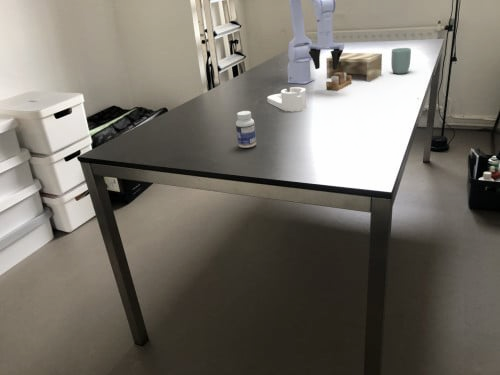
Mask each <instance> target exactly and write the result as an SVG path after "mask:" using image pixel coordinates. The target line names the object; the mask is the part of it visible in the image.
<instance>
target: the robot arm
mask: <svg viewBox="0 0 500 375" xmlns="http://www.w3.org/2000/svg"><path fill="white" fill-rule="evenodd" d="M309 2H310V3H311V4H312V5H313V11H314V17H315V20H316V27H317V28H316V30H317V31H316V32H317V34H316V35H317V42H316V43H313V42H312V39H311V38H309V37H308V36H306V29H305V21H304V14H303V7H302V0H288V5H289V13H290V18H291V19H290V20H291V27H292V34H293V38H292V39H291V40H290V41H289V42H288V45H287V46H288V50H287V55H288V59H289V62H288V64H287V78H288V80H287V83H288V84H301V85H302V84H303V85H305V84H309V83H311V82H312V81H315V78H312V77H311V61H312V62H313V66H314V68H315V70H318V69H320V67H321V65H320V63H321V62H320V60H321V50H324V51H325V50H328V51H329V50H330V55H331V56H332V61H333V70H335V69H337V66H338V62H339V59H340V56H341V54H342V53H344V50H345V43H338V42H334V25H333V24H334V23H333V22H334V18H333V17H334V15H333V13H334V12H335V10H336V0H309Z"/></svg>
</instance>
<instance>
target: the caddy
mask: <svg viewBox="0 0 500 375" xmlns="http://www.w3.org/2000/svg"><path fill="white" fill-rule="evenodd" d="M330 79H331V81H329V80H327V81H326V82H325V86H326V88H325V89H326V91H334V92H339V91H340V90H342V89H344V88H346V87H348V86H350V85H352V75H348V74H347V73H345V72H343V73H341V72H337V73H335V74H334V76H332V77H331V78H330Z"/></svg>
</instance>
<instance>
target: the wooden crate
mask: <svg viewBox="0 0 500 375" xmlns="http://www.w3.org/2000/svg"><path fill="white" fill-rule="evenodd" d="M382 59H383V53H365V52H363V53H361V52H360V53H359V52H356V53H355V52H353V53H352V52H342V54H341V56H340V59H339V62H338V66H337V69H335V70H333V61H332V55H331V56H328V57H326V59H325V60H326V61H325V62H326V79H331V77H332V76H334V74H335V73H337V72H341V73H343V72H345V73H346V74H350V75H351V74H353V75H366V82H368V83H370V82H372V81H374V80H375V79H377V78H379V77H381V76H382V71H383V70H382V67H383V62H382V61H383V60H382Z"/></svg>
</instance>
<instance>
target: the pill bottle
mask: <svg viewBox="0 0 500 375" xmlns="http://www.w3.org/2000/svg"><path fill="white" fill-rule="evenodd" d="M236 117H237V118H236V119H237V120H236V122H235V128H236V136H237V144H238V146H239V147H240V148H252V147H254V146H255V145H257V137H256V135H257V134H256V126H255V125H256V124H255V120H254V119H253V118H252V112H251V111H250V110H242V111H239V112H236Z"/></svg>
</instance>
